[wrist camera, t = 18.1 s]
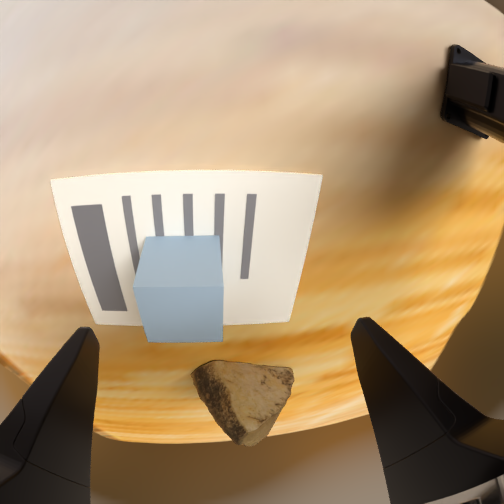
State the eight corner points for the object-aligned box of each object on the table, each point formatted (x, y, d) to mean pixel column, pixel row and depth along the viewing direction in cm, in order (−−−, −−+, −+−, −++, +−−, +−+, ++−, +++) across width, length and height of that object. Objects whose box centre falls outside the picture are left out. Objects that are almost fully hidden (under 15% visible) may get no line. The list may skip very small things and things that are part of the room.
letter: (321, 174, 18) (323, 175, 18) (288, 320, 26) (289, 322, 26) (51, 179, 15) (49, 180, 15) (96, 322, 23) (95, 324, 23)
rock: (322, 374, 29) (268, 359, 23) (302, 444, 26) (242, 449, 20) (252, 360, 37) (194, 342, 31) (235, 418, 34) (174, 411, 28)
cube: (219, 235, 19) (223, 286, 15) (218, 289, 22) (222, 341, 18) (146, 236, 19) (132, 287, 15) (155, 290, 21) (148, 342, 17)
